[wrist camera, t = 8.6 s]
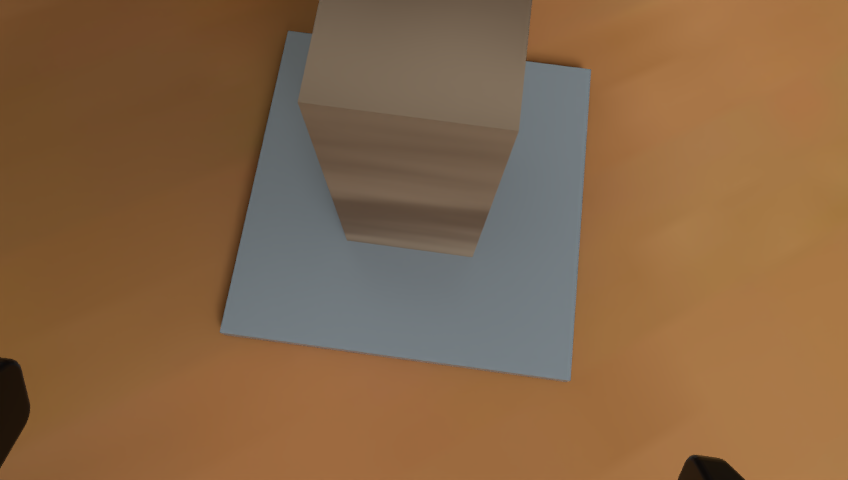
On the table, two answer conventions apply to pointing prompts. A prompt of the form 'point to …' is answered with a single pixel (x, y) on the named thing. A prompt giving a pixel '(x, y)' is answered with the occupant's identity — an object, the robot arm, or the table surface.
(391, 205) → the walnut pillar
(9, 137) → the table surface
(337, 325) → the slate coaster
